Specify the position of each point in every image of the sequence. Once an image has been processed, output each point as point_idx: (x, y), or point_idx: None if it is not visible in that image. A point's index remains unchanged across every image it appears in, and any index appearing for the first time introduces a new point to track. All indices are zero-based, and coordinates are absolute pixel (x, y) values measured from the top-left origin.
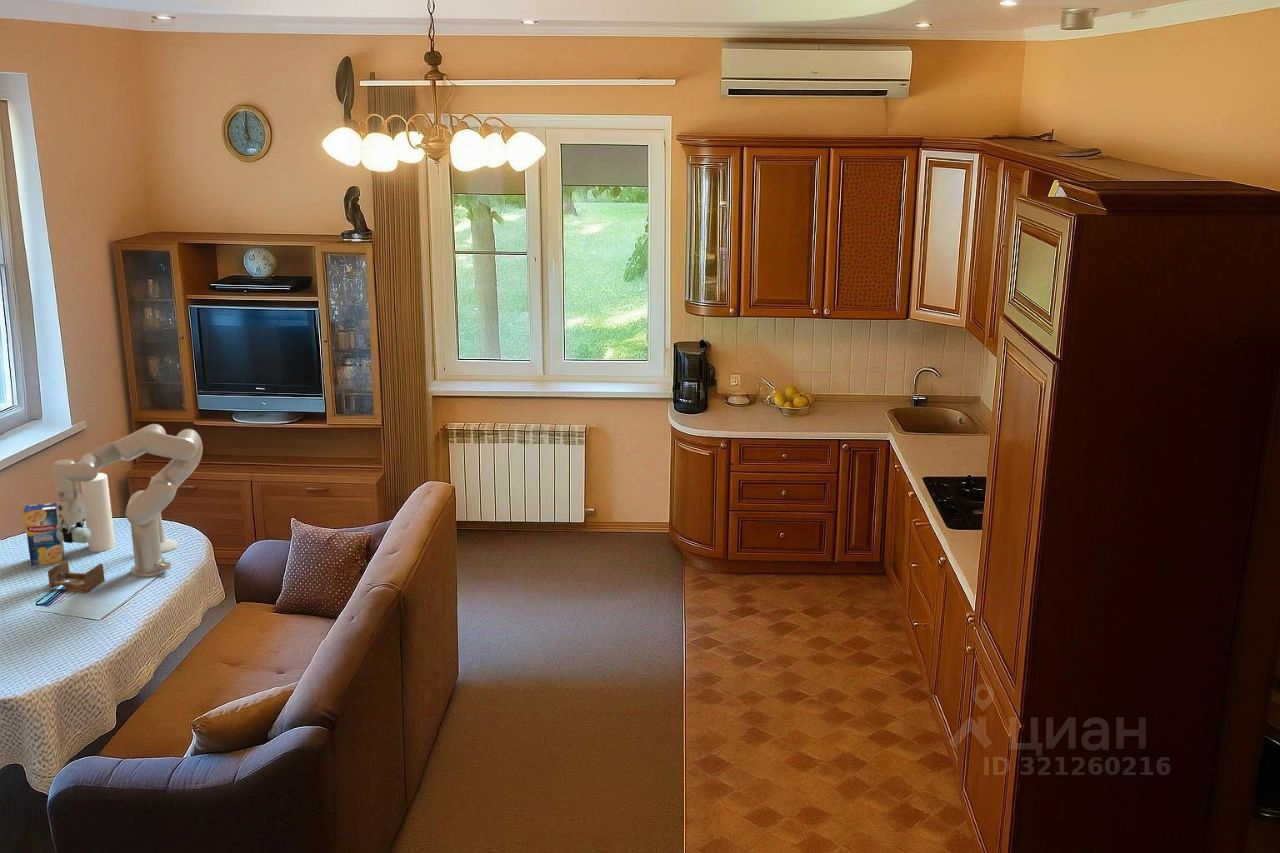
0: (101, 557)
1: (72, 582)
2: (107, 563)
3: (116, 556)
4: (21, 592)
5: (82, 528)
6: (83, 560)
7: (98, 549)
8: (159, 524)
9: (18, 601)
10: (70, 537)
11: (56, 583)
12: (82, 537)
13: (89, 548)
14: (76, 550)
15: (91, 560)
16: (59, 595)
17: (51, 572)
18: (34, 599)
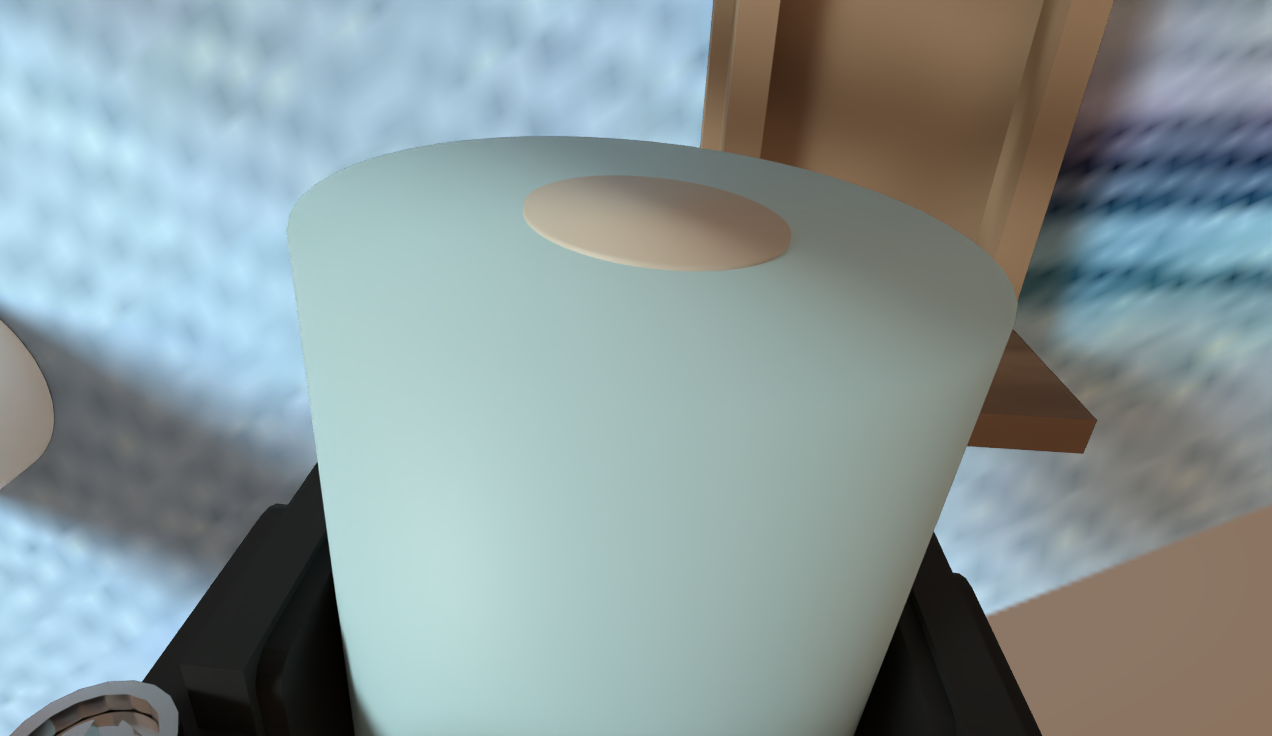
0: (122, 245)
1: (891, 154)
2: (220, 79)
3: (6, 85)
4: (1051, 521)
5: (619, 538)
6: (269, 379)
7: (7, 361)
8: None
9: (1267, 453)
10: (951, 604)
11: (1014, 287)
12: (858, 246)
13: (34, 457)
14: (120, 539)
15: (234, 305)
16: (1183, 138)
17: (1061, 403)
18: (1248, 342)
